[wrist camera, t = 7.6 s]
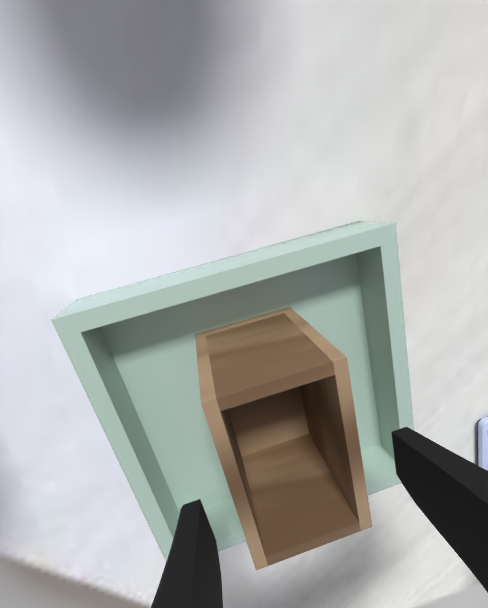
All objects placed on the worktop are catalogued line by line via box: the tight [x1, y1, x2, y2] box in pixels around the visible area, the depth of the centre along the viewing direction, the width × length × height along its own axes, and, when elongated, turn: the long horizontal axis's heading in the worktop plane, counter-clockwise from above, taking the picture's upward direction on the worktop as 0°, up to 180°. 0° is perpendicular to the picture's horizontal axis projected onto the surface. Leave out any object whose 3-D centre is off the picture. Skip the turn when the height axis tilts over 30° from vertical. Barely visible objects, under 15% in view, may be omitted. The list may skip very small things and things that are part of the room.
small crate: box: [195, 307, 372, 570], centre depth 14 cm, size 8×5×6 cm, turn 14°
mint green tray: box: [52, 221, 414, 562], centre depth 16 cm, size 15×15×3 cm
